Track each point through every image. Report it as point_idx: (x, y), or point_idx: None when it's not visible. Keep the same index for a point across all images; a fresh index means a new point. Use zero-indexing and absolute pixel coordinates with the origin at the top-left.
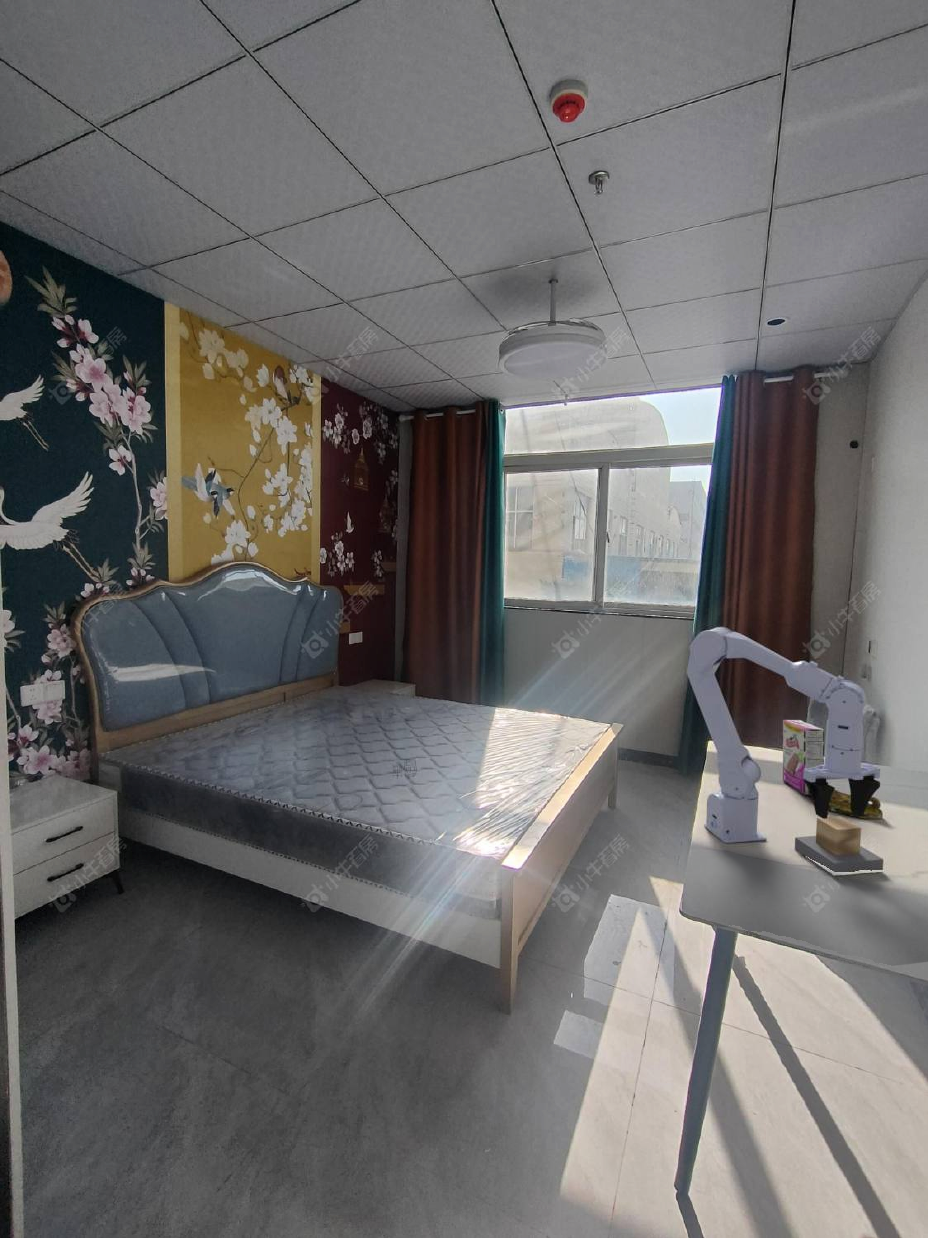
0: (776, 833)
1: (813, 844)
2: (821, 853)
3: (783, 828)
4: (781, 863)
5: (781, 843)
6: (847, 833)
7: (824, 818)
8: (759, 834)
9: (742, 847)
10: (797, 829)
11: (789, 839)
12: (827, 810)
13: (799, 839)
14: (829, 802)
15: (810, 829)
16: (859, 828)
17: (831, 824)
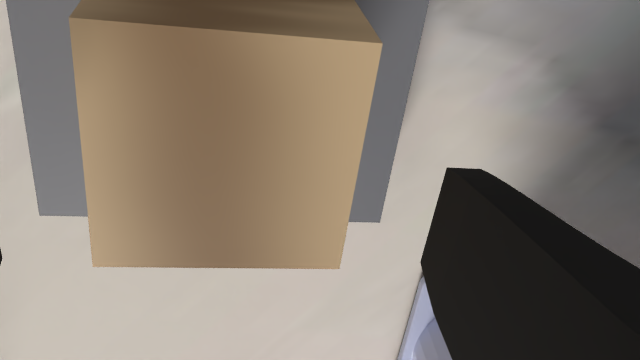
0: (309, 317)
1: None
2: (412, 19)
3: (231, 350)
4: (568, 73)
5: (373, 239)
6: (252, 15)
7: (474, 171)
8: (431, 308)
9: (589, 235)
10: (165, 337)
11: None
12: (521, 211)
13: (377, 199)
14: (575, 284)
15: (92, 330)
16: (93, 19)
17: (330, 149)
